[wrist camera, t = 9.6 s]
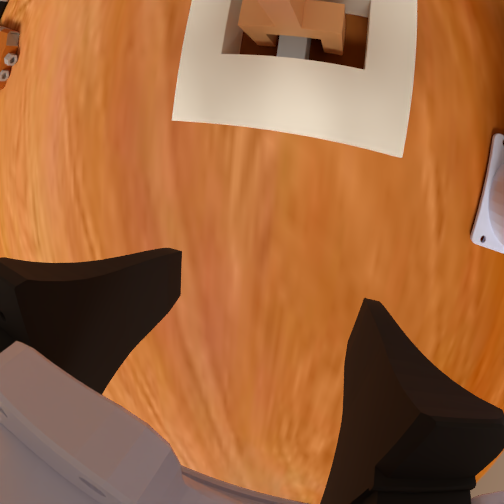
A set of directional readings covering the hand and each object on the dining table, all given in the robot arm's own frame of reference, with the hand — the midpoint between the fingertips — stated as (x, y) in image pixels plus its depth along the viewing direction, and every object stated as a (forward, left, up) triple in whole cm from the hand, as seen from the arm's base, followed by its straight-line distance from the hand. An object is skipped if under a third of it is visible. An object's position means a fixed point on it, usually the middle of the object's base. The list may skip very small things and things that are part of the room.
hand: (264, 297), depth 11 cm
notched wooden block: (+2, -13, -10) cm, 17 cm away
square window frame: (+2, -13, -10) cm, 17 cm away
